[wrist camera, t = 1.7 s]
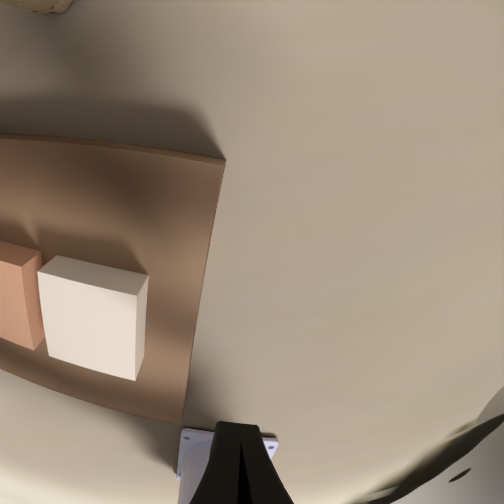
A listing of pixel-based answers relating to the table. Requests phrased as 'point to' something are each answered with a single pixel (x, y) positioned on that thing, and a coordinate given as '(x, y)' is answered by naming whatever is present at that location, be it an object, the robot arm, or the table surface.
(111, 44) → the table surface
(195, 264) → the walnut board
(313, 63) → the table surface
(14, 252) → the terracotta tile
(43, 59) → the table surface
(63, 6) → the handle
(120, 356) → the cream tile
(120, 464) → the table surface
